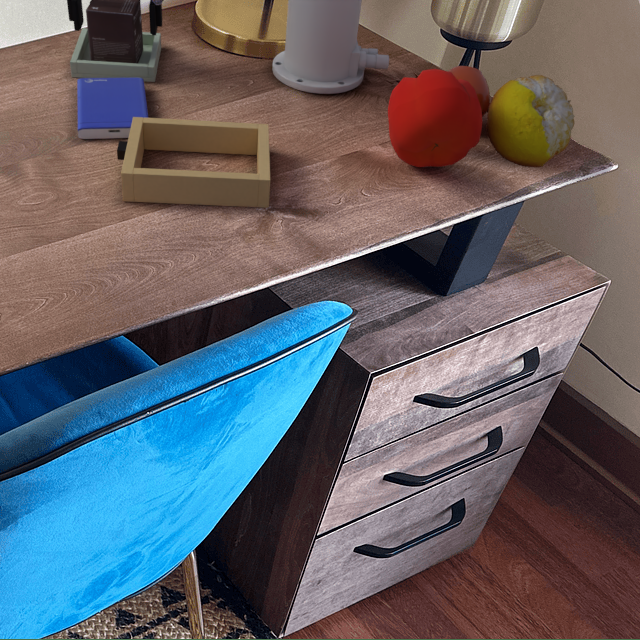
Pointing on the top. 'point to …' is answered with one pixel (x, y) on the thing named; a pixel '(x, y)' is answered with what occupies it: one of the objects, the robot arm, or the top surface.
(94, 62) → the tray
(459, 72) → the tomato
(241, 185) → the tan rectangular bin
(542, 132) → the fruit
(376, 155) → the top surface
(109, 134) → the hard drive
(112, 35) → the box
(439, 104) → the tomato
